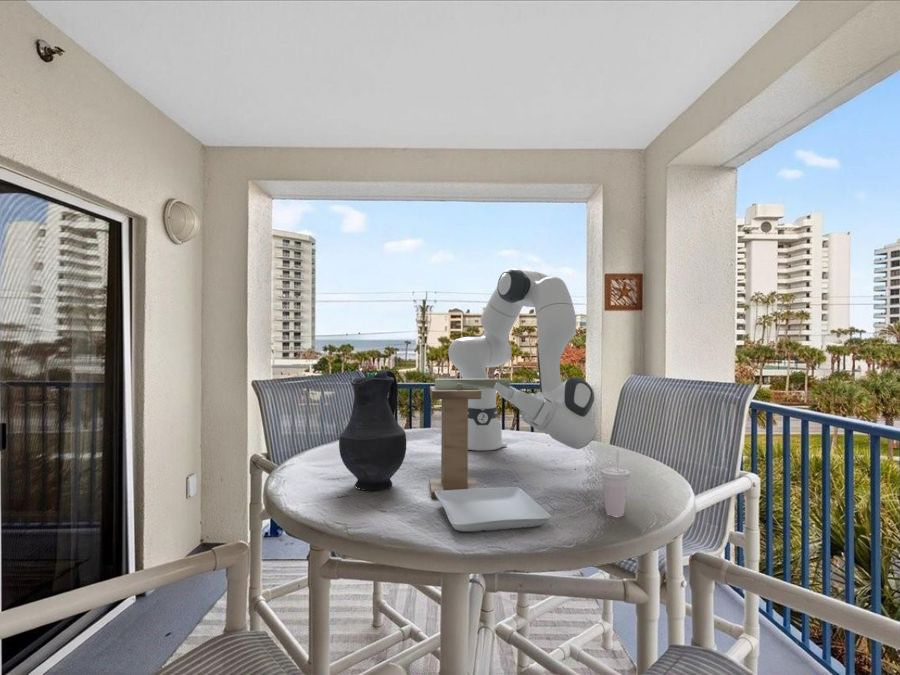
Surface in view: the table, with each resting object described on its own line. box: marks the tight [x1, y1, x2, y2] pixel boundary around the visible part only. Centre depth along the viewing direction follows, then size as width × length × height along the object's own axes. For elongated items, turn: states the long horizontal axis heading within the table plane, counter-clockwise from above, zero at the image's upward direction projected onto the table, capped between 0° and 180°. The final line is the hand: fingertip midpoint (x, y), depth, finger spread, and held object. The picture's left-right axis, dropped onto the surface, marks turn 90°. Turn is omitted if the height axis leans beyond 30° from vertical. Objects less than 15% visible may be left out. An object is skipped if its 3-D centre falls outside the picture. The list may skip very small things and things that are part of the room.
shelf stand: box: [428, 383, 481, 499], centre depth 131 cm, size 12×12×28 cm
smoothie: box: [599, 450, 631, 516], centre depth 114 cm, size 6×6×14 cm
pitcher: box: [338, 369, 407, 491], centre depth 136 cm, size 17×21×30 cm
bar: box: [434, 378, 511, 389], centre depth 131 cm, size 2×19×2 cm, turn 95°
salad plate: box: [435, 486, 552, 532], centre depth 113 cm, size 21×21×3 cm
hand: (491, 383), depth 132 cm, fingers open, 8 cm apart
